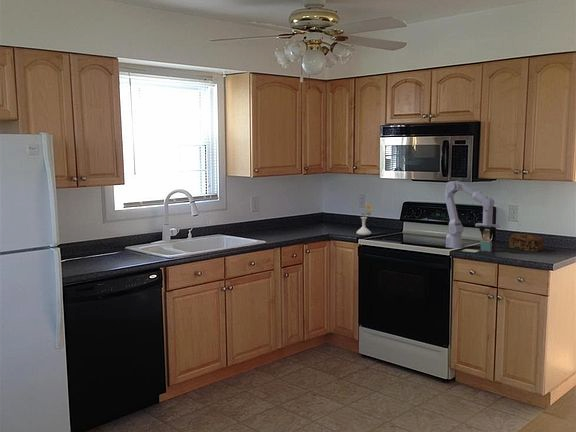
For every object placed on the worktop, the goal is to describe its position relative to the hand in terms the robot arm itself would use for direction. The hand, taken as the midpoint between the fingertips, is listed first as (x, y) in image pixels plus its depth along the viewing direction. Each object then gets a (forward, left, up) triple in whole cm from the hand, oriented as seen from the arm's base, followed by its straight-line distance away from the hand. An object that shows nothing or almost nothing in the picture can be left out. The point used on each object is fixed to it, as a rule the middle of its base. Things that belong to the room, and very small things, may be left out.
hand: (486, 238), depth 354 cm
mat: (-8, -6, -8) cm, 13 cm away
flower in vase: (-99, +18, -9) cm, 101 cm away
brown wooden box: (0, 0, -3) cm, 3 cm away
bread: (+18, +24, -9) cm, 31 cm away
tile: (0, -1, -8) cm, 8 cm away
